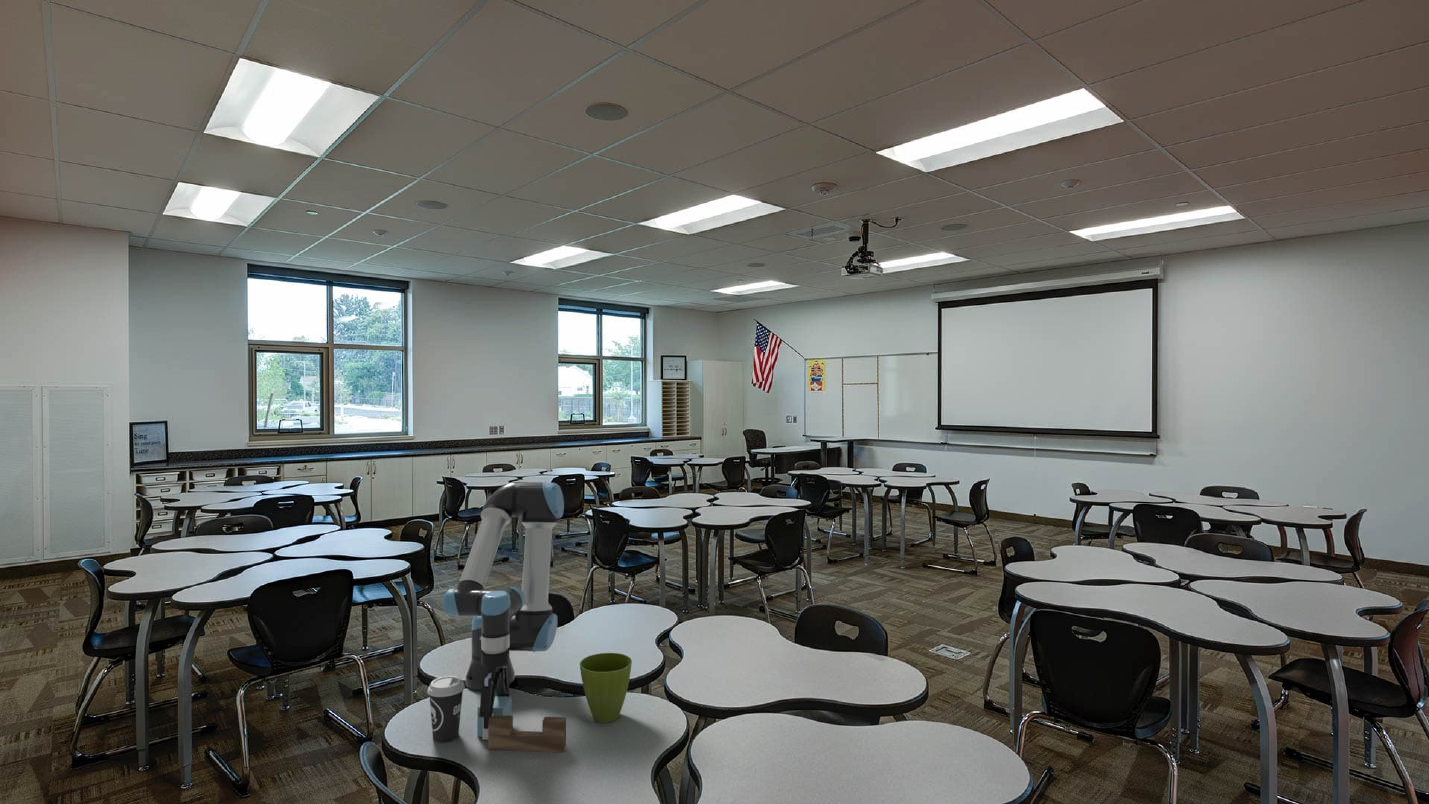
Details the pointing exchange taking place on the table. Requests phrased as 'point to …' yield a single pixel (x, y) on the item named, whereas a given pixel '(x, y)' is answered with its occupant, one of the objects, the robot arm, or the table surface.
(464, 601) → the robot arm
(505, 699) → the teal notched block
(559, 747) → the walnut slotted plate
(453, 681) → the coffee cup
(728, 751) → the table surface
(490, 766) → the table surface
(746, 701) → the table surface
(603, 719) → the flower pot
